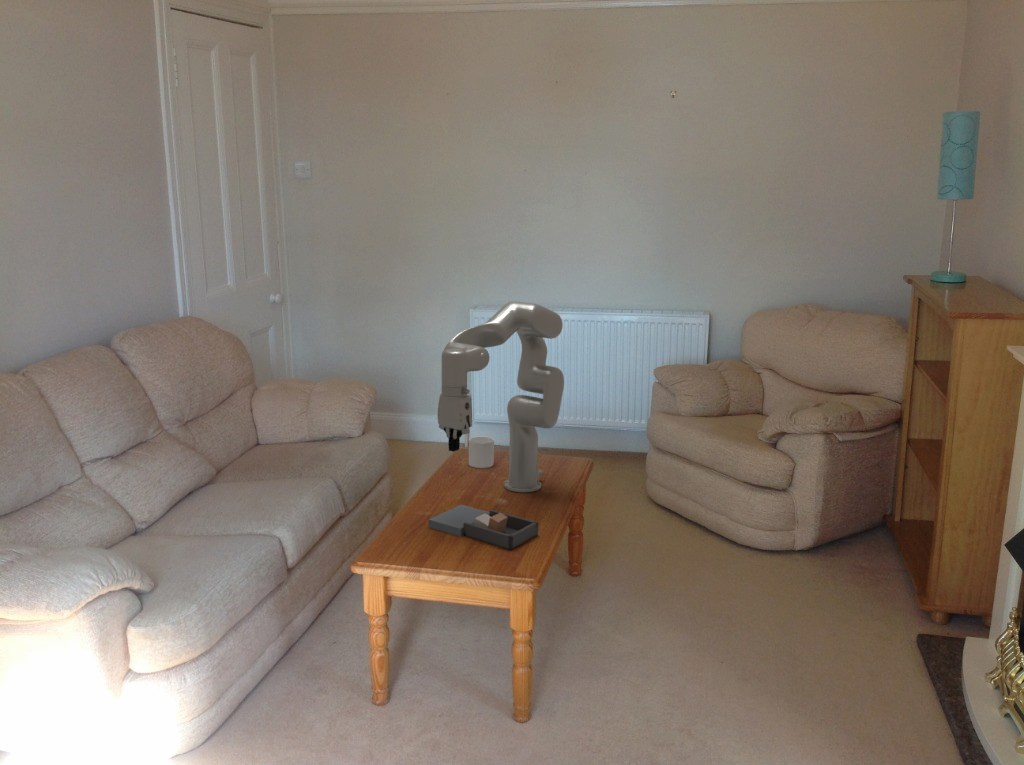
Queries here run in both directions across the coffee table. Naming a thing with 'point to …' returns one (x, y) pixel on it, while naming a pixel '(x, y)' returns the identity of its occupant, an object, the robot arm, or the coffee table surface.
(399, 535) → the coffee table surface
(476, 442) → the mug
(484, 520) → the tile
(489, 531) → the box
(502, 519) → the tile
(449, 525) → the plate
